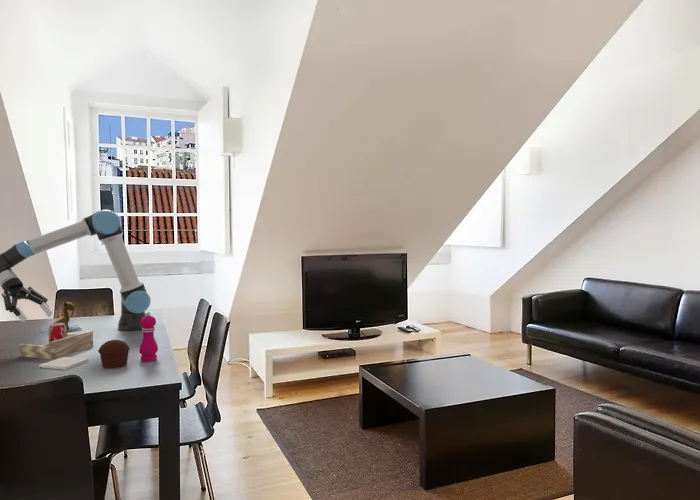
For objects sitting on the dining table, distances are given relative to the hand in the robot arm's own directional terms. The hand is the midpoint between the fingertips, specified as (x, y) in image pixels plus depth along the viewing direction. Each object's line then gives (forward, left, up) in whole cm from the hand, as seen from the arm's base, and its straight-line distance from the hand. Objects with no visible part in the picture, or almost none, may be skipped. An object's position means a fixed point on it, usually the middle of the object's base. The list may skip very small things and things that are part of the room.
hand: (38, 317), depth 226 cm
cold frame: (-7, +6, -14) cm, 17 cm away
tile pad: (-11, +31, -14) cm, 36 cm away
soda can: (-8, +6, -15) cm, 18 cm away
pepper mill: (-42, +38, -15) cm, 59 cm away
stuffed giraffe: (-6, -42, -15) cm, 45 cm away
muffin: (-29, +41, -15) cm, 52 cm away
